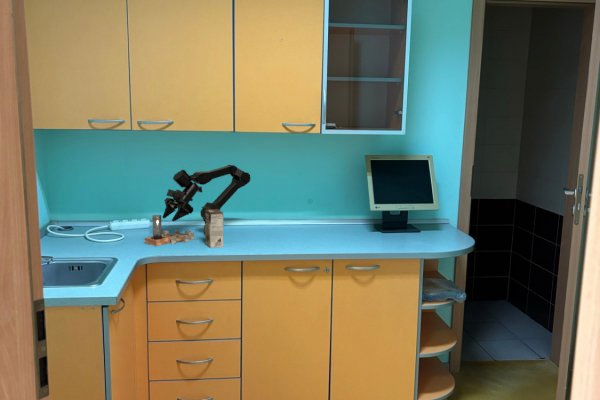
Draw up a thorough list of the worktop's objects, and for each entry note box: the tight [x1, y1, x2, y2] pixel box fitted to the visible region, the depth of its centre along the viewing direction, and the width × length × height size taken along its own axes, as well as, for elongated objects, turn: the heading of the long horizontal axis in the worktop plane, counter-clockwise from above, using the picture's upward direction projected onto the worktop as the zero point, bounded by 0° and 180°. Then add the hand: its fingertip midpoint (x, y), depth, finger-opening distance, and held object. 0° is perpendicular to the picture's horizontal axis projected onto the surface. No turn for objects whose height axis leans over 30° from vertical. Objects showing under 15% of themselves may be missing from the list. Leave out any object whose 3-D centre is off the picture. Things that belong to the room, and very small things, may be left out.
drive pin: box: [151, 214, 163, 240], centre depth 270 cm, size 4×4×13 cm
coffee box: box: [204, 209, 224, 249], centre depth 266 cm, size 9×6×16 cm
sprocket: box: [144, 229, 195, 247], centre depth 277 cm, size 23×17×3 cm
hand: (167, 219), depth 273 cm, fingers open, 9 cm apart
